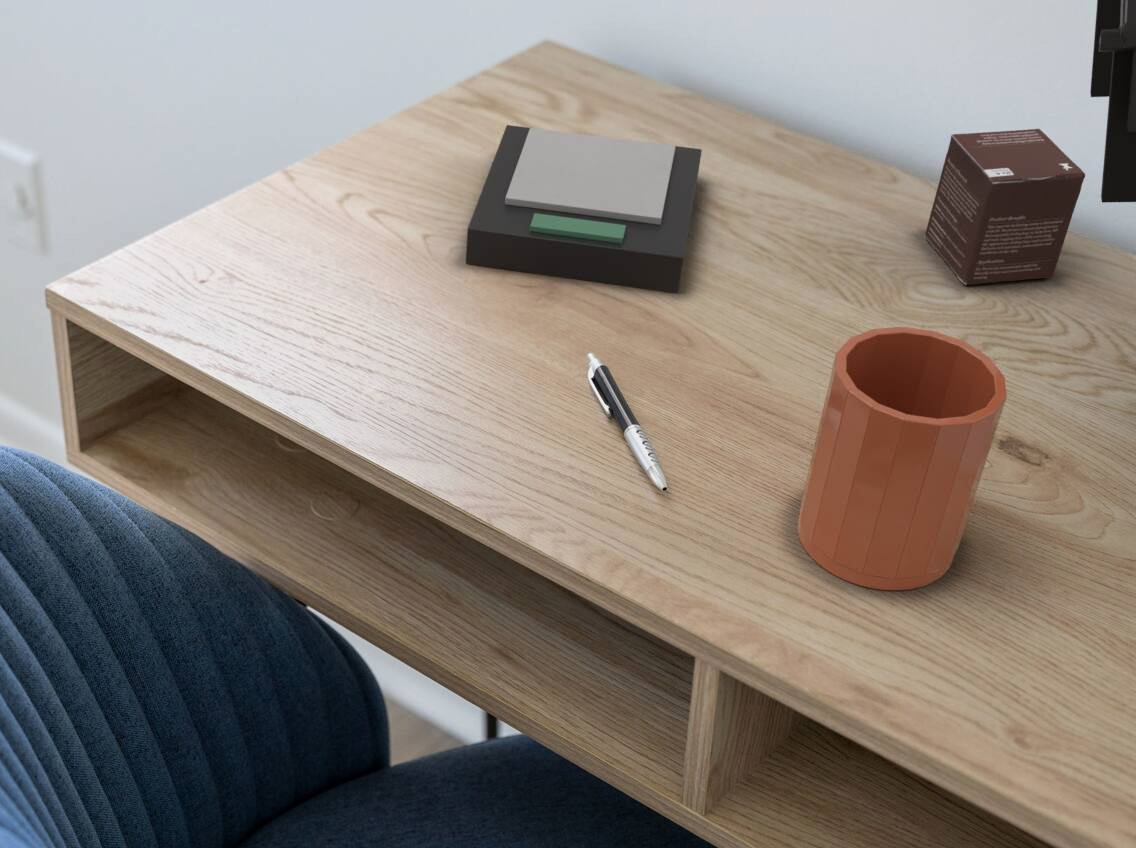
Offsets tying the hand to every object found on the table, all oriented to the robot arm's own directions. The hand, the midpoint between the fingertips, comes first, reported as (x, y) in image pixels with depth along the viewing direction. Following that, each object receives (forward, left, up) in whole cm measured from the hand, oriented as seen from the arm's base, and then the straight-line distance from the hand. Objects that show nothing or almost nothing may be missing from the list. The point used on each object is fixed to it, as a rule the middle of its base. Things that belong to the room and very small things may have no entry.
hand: (1127, 143), depth 73 cm
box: (0, -21, -19) cm, 29 cm away
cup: (+7, +8, -19) cm, 22 cm away
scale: (+25, -19, -19) cm, 37 cm away
